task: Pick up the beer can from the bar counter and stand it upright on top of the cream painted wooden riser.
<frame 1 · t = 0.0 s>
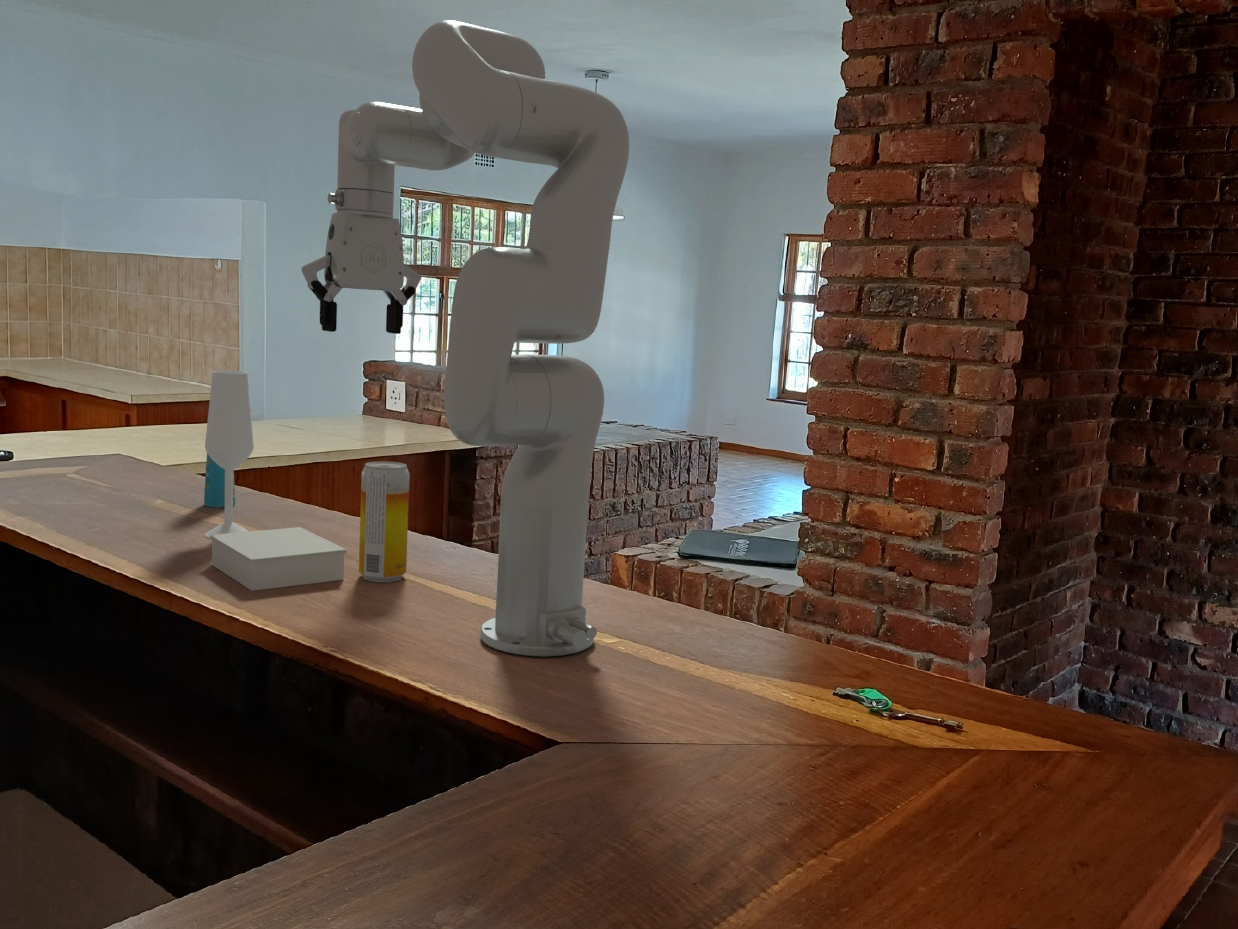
hand: (361, 332, 151), 31 cm above the counter, fingers open, 9 cm apart
riser: (277, 572, 142), on the counter
beer can: (382, 578, 143), on the counter
tube: (218, 506, 180), on the counter
champagne flute: (228, 535, 161), on the counter
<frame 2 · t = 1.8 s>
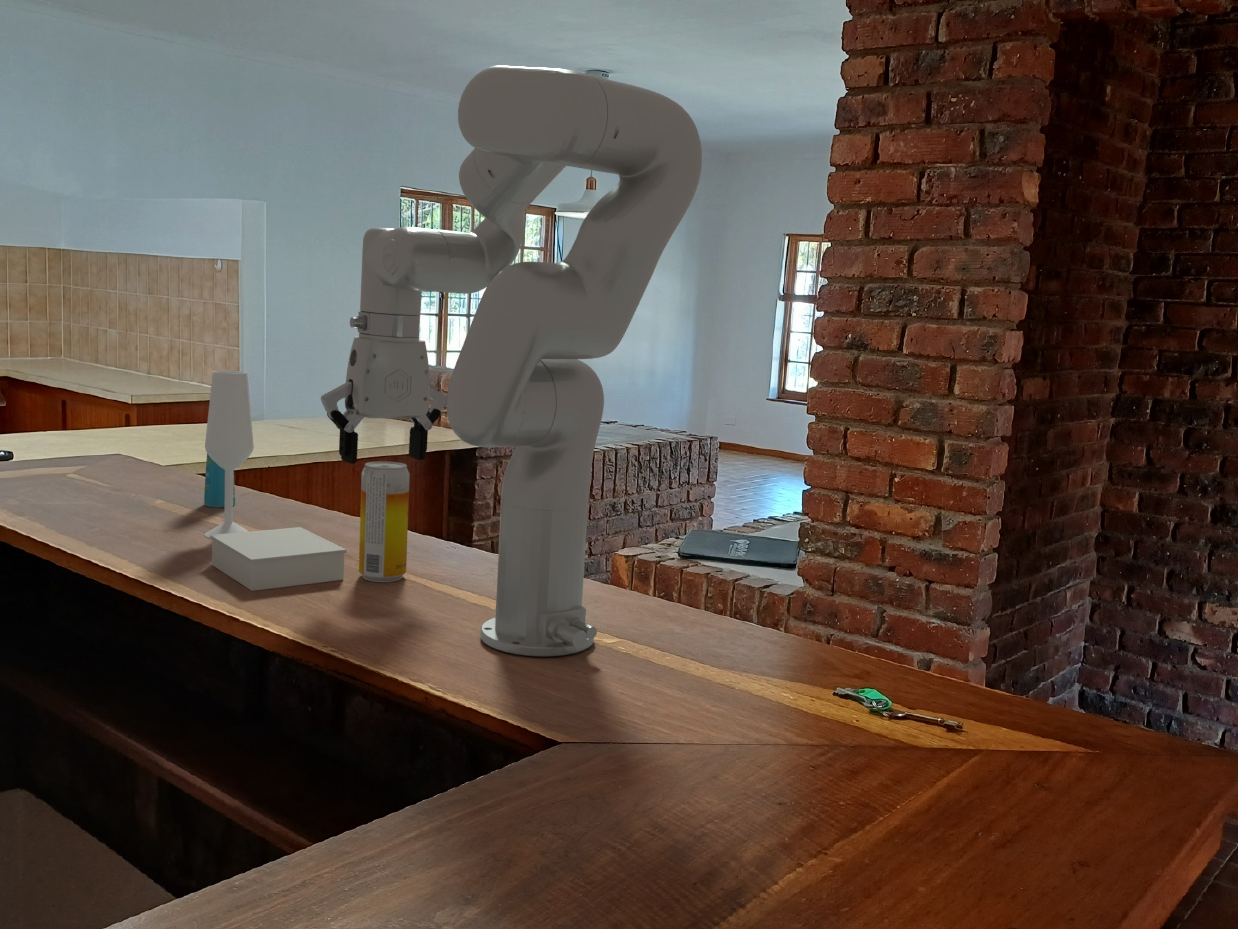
hand: (383, 460, 141), 15 cm above the counter, fingers open, 9 cm apart
nothing on the counter moved.
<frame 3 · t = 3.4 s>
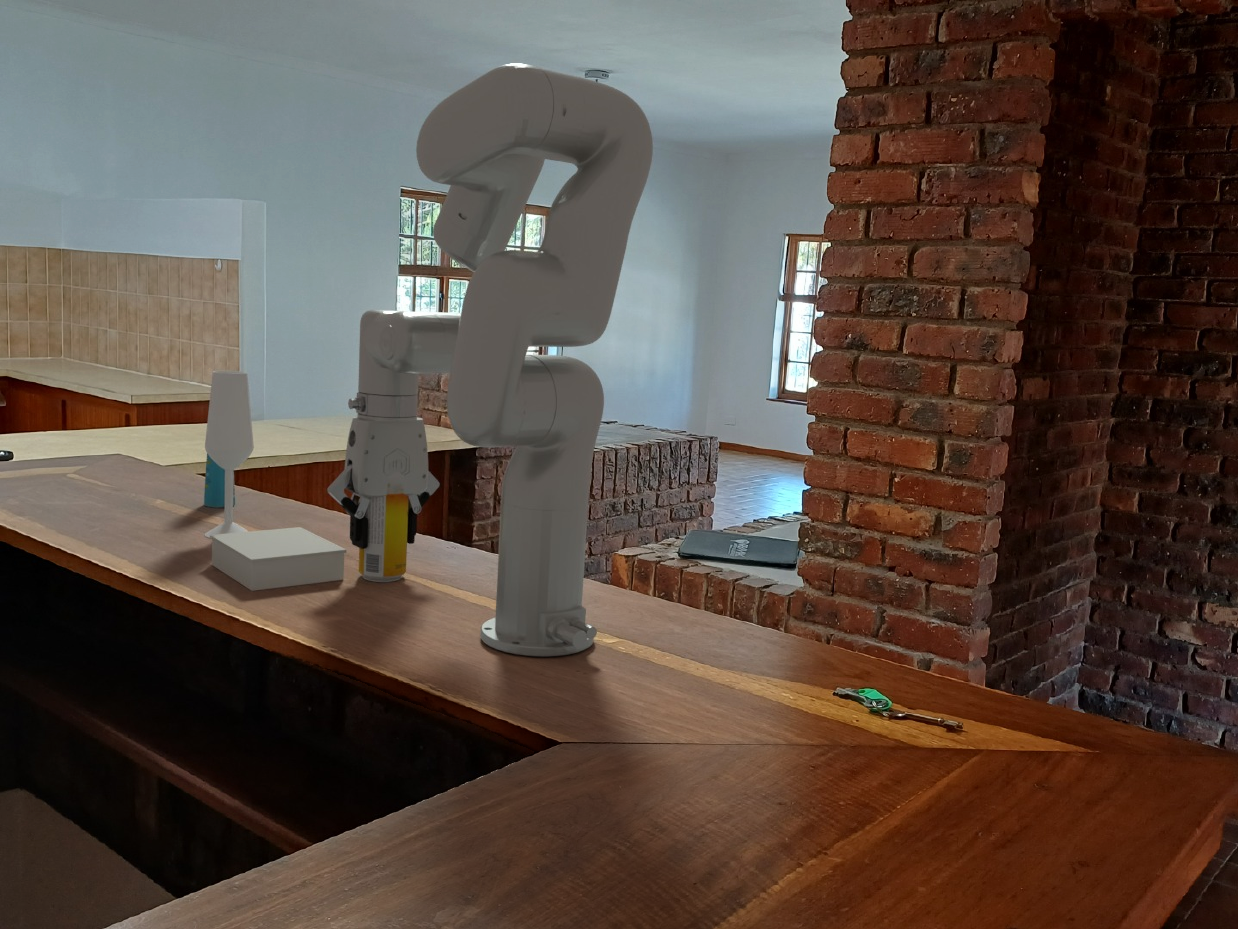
hand: (383, 542, 142), 5 cm above the counter, fingers closed on beer can, 6 cm apart
beer can: (382, 578, 143), on the counter, touching gripper
everything else where it was.
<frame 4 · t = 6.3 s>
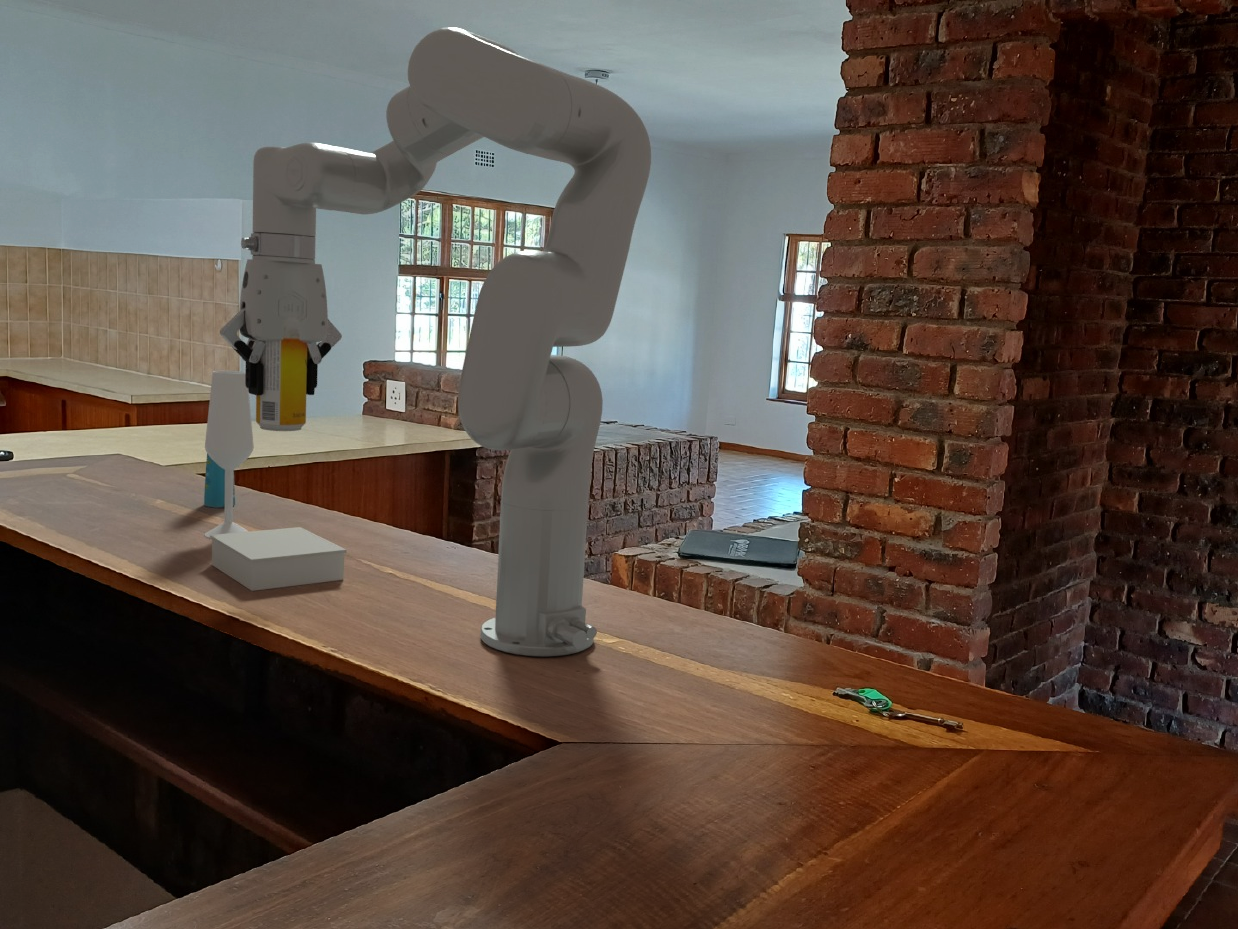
hand: (281, 392, 138), 24 cm above the counter, fingers closed on beer can, 6 cm apart
beer can: (280, 430, 139), point 19 cm above the counter, touching gripper
everything else where it was.
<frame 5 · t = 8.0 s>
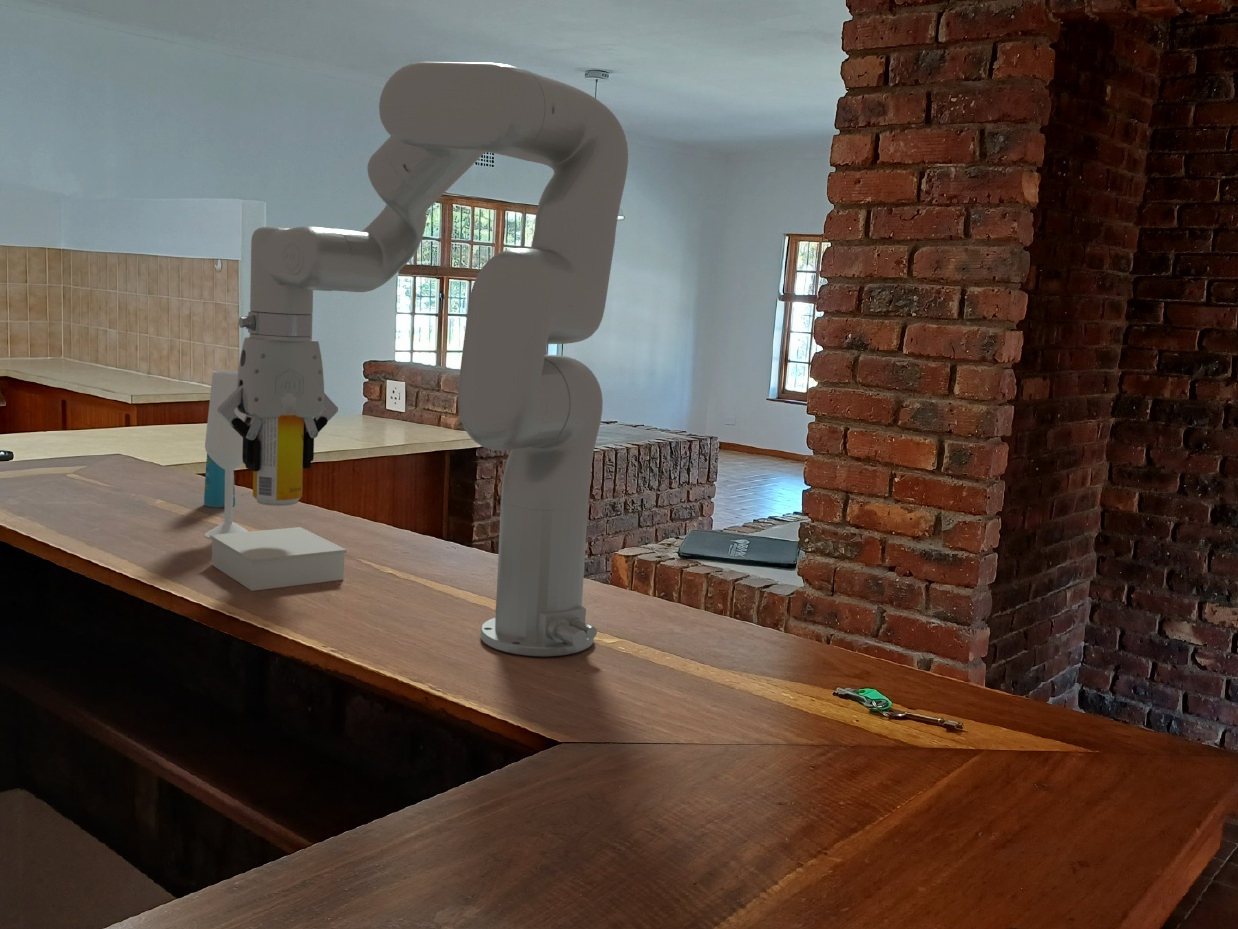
hand: (278, 467, 140), 14 cm above the counter, fingers closed on beer can, 6 cm apart
beer can: (277, 503, 141), point 9 cm above the counter, touching gripper
everything else where it was.
when the fingers open (10 cm above the counter, at t = 9.3 s): beer can drops 1 cm, resting on riser.
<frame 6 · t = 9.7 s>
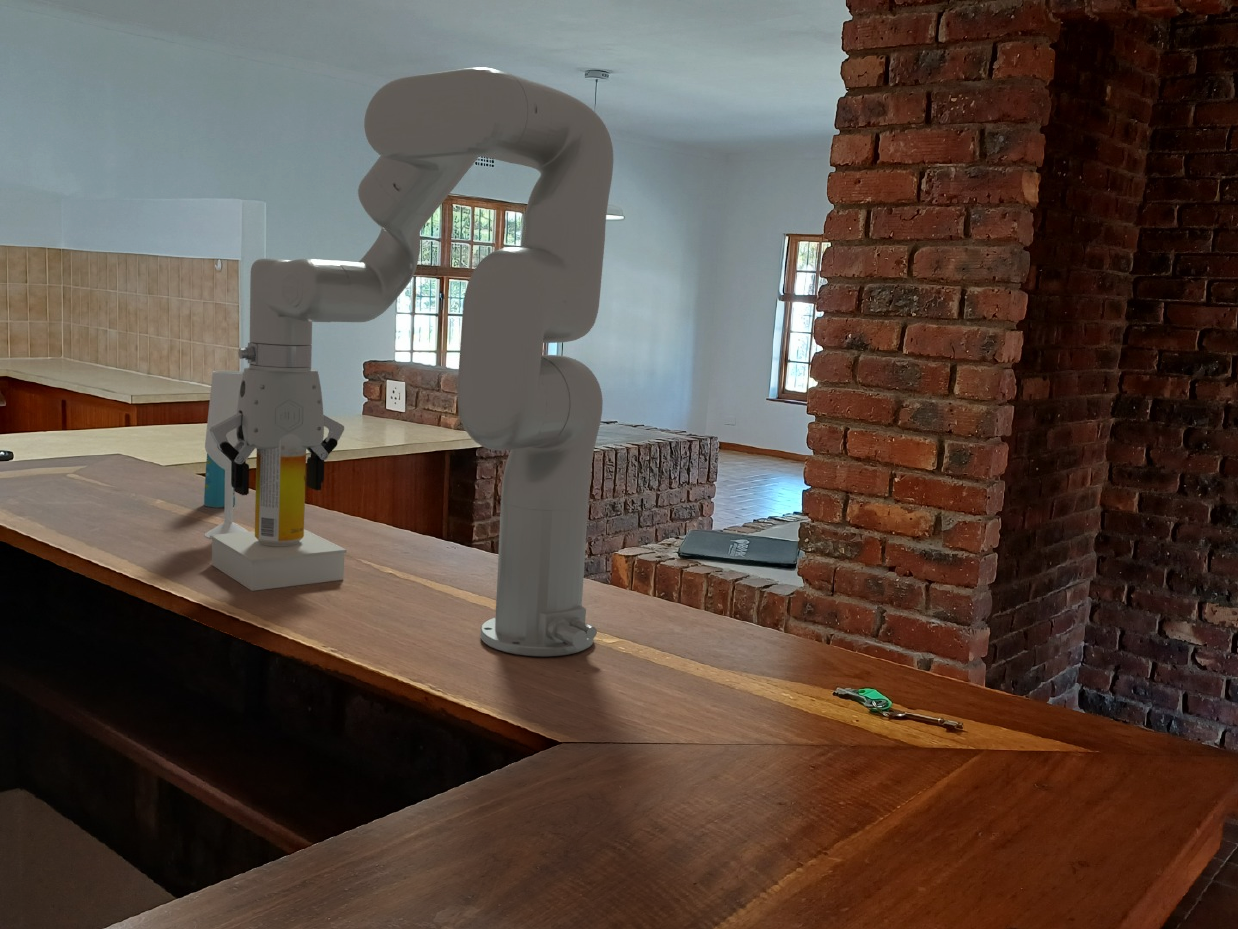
hand: (278, 490, 140), 11 cm above the counter, fingers open, 9 cm apart
beer can: (279, 543, 141), point 4 cm above the counter, touching riser
everything else where it was.
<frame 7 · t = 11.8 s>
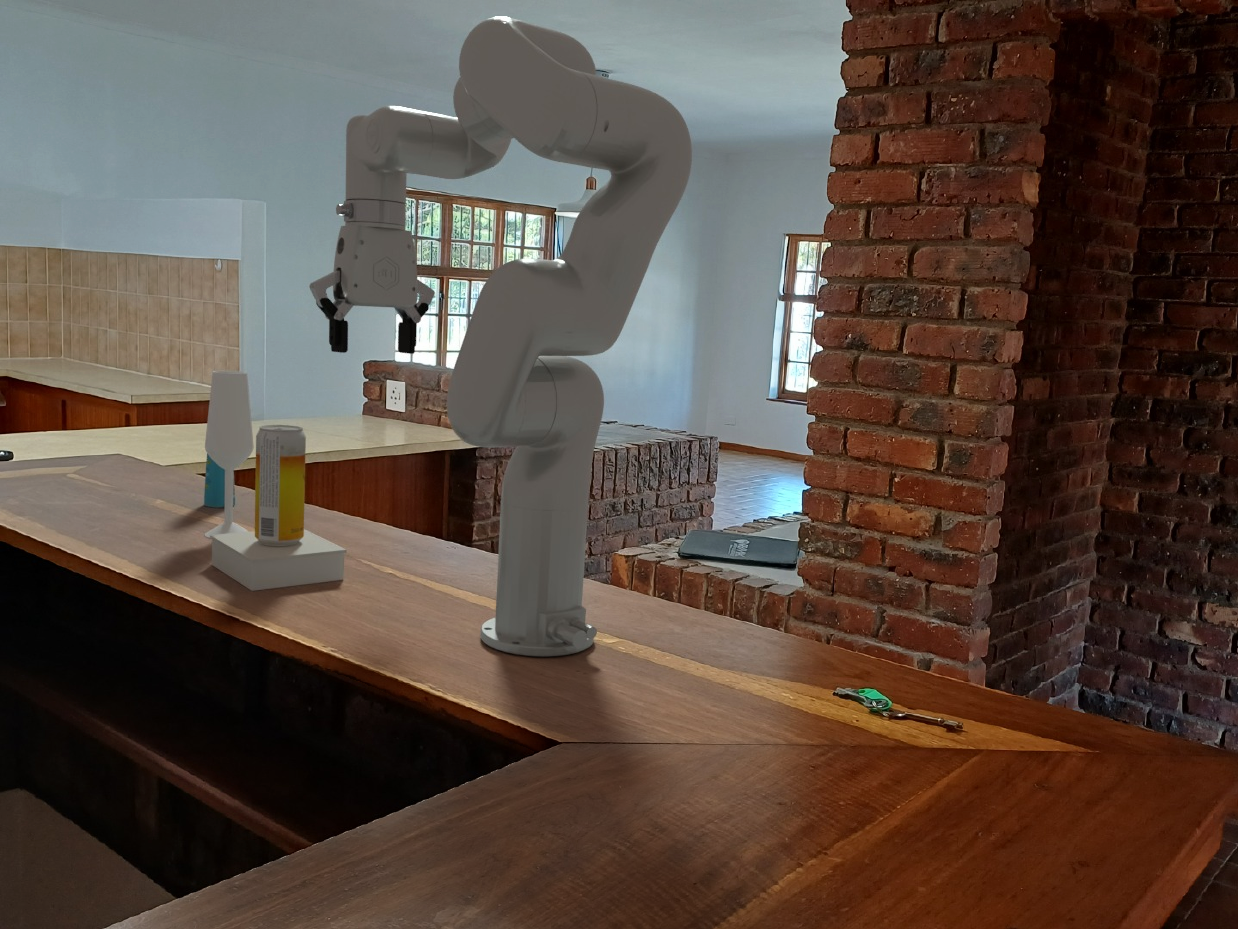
hand: (373, 352, 141), 29 cm above the counter, fingers open, 9 cm apart
nothing on the counter moved.
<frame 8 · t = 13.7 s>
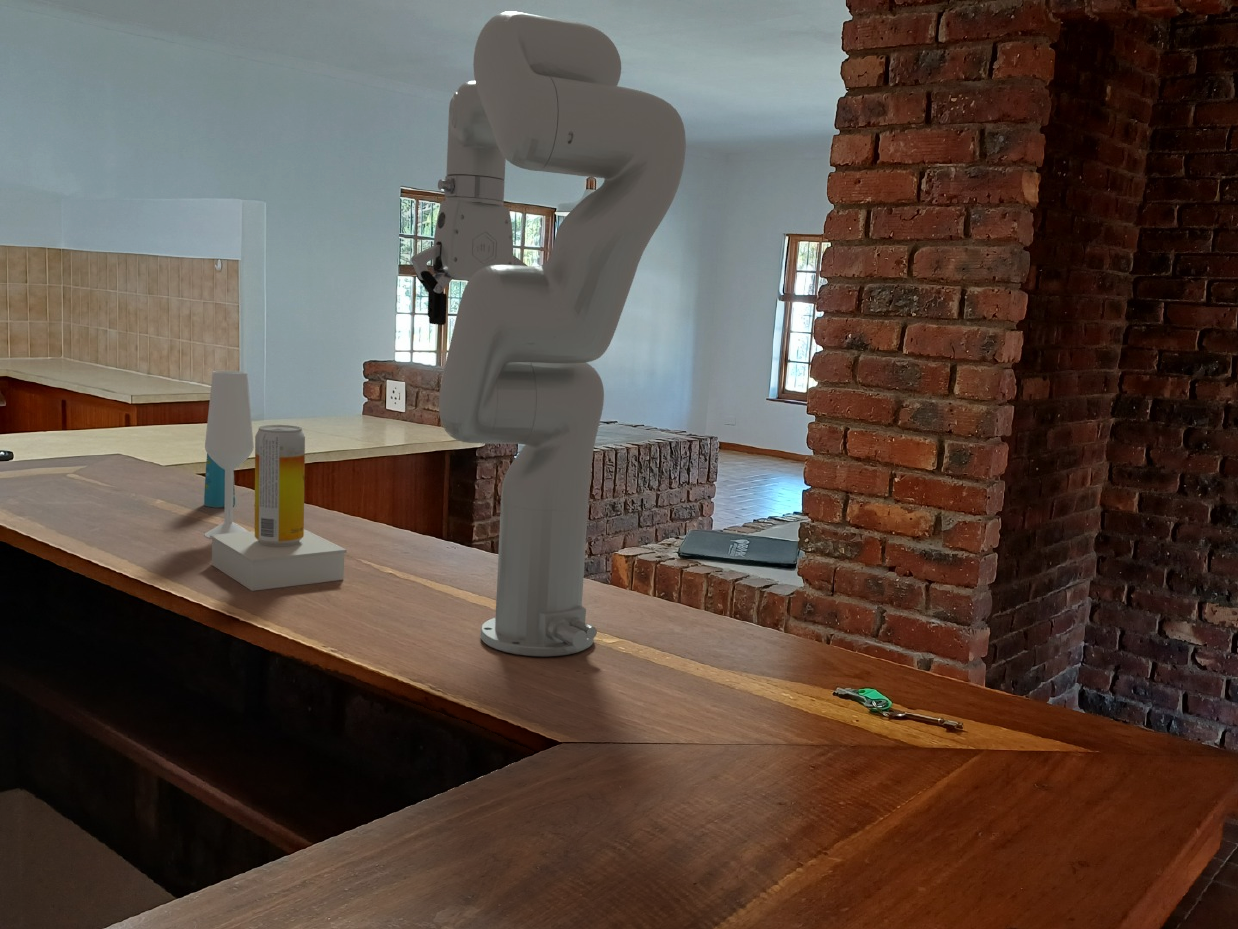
hand: (469, 325, 144), 33 cm above the counter, fingers open, 9 cm apart
nothing on the counter moved.
at the end: beer can inside the target area on the riser (0.3 cm from its centre), point 3.8 cm above the riser's base; beer can tilted 1°; the gripper is holding nothing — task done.
